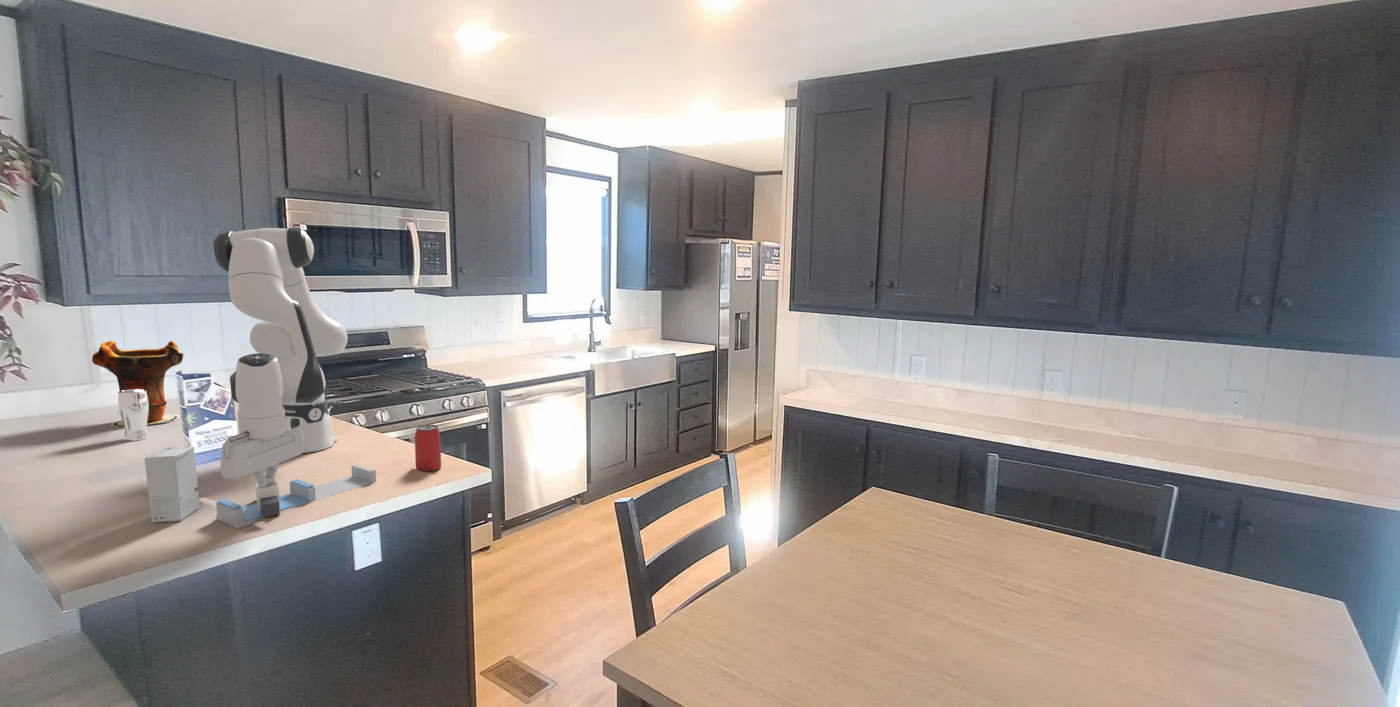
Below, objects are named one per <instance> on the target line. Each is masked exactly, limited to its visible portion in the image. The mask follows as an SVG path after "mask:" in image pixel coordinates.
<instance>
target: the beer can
mask: <svg viewBox="0 0 1400 707" xmlns="http://www.w3.org/2000/svg"><path fill="white" fill-rule="evenodd" d="M440 432H441V431H440V430H439V426H438V425H436V424H423V425H419V426H417V427H416V431H415V433H414V449H415V450H414V452H415V453H414V454H415V455H414V456H415V457H414V458H415V469H416V470H417V471H419V472H423V473H429V472H430V473H431V472H436V471H437V470H439V469H440V468H441V467H442V454H441V453H442V452H441V450H442V449H441V447H442V446H441V433H440Z"/></svg>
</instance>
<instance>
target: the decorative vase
mask: <svg viewBox="0 0 1400 707" xmlns="http://www.w3.org/2000/svg"><path fill="white" fill-rule="evenodd" d="M183 359H184V353H183V352H182V351H181V350H180V349H179V347H178V344H177V342H176V341H174V340H170V341H169V342H168V343H167V344H166V345H165V346H163V347H161V348H142V349H120V348H118V346H117V343H116V342H115V341H114V340H108V341H105V342H102V343H101V344H100V346H99V349H98V351H96V352H94V353H93V354H92V357H91V361H92V363H93V364H94V365H95V366H99V367H102V368H104V369H106V370H108V371H109V373H112V374H113V375H114V376H116V379H117V384H118V389H119V391H122V390H129V389H146V391H147V396H148V402H149V412H148V419H147V426H149V425H150V426H151V425H157V424H167V423H170V422H171V423H172V422H174V421H177V420H178V419H179V418H180V415H177V414H168V413H165V411H166V407H167V404H168V403H167V400H166V398H165V386H164V384H165V377H166V372H167V371H169V370H170V369H172V367H174V366H178V365H180V364H181V363H182V361H183ZM119 414H120V411H117V414H116V416H118V415H119ZM110 427H115V428H122V429H123V428H124V424H123V421H122V419H120V420H116V421H114V422H112V423H111V424H110ZM124 429H125V428H124Z"/></svg>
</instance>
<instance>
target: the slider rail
mask: <svg viewBox="0 0 1400 707" xmlns="http://www.w3.org/2000/svg"><path fill="white" fill-rule="evenodd" d="M350 466H351V476H348V477H344V478H340V479H337V480H333V481H330V482H327V483H323V484H319V485H316V486H314V484H312V483H310V482H306V481H303V480H300V479H292V480H290V482H289V493H286V494H283V495H279V499H280V508H279V510H280V512H283V511H285V510H289V509H293V508H295V507H298V506H303V505H305V504H308V503H311V502H312V503H313V502H315V501H319V500H323V499H326V498H328V497H331V496H334V495H338V494H341V493H345V492H348V491H352V490H355V489H358V488H361V487H364V486H368V485H371V484H374V483H375V484H376V483H378V481H377V470H376V469H373V468H371V467H367V466H364V465H360V464H358V463H357V464H353V465H350ZM215 507H216V515H215V519H216V520H217V521H220V522H222V523H224V524H226V525H228V526H230V527H232V528H234V529H237V530H238V529H240V528H244V527H247V526H250V525H254V524H257V523H260V522H263V520H262V519H260V518H264V517H263V514H262V511H260V512H259V510H258V507H257V502H255V503H251V504H248V505H244V506H242V505H241V504H238V503H236V502H233V501H231V500H229V499H226V498H223V499H219V500H216V503H215Z"/></svg>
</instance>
